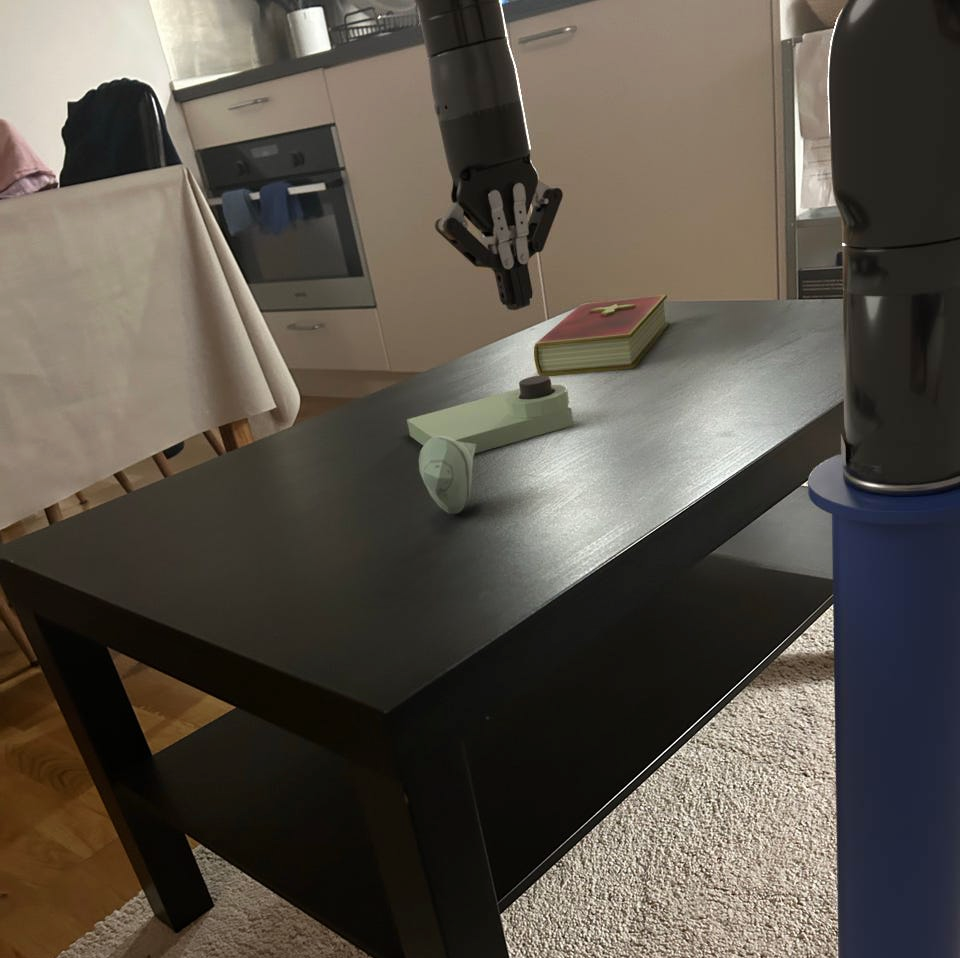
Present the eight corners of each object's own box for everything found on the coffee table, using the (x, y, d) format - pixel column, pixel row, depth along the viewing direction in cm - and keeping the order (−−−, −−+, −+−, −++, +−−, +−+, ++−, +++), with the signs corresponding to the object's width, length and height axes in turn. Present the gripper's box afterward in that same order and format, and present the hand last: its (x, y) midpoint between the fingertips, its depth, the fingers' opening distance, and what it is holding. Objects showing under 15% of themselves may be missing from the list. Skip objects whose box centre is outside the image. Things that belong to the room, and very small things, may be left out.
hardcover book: (536, 376, 123) (531, 341, 121) (582, 333, 140) (578, 301, 138) (634, 368, 118) (630, 331, 116) (669, 324, 135) (666, 292, 133)
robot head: (457, 532, 83) (441, 452, 79) (412, 532, 84) (395, 454, 81) (493, 495, 89) (479, 420, 86) (450, 496, 91) (436, 422, 87)
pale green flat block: (532, 402, 113) (527, 371, 112) (581, 425, 102) (576, 391, 101) (410, 436, 110) (403, 404, 108) (447, 463, 99) (440, 429, 97)
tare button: (545, 390, 105) (542, 373, 104) (557, 395, 102) (555, 378, 101) (516, 398, 104) (514, 381, 103) (528, 403, 101) (526, 386, 100)
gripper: (431, 118, 83) (477, 329, 91) (564, 85, 88) (598, 289, 96) (395, 128, 90) (441, 325, 97) (521, 96, 94) (556, 287, 102)
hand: (518, 307), depth 97 cm, fingers closed
